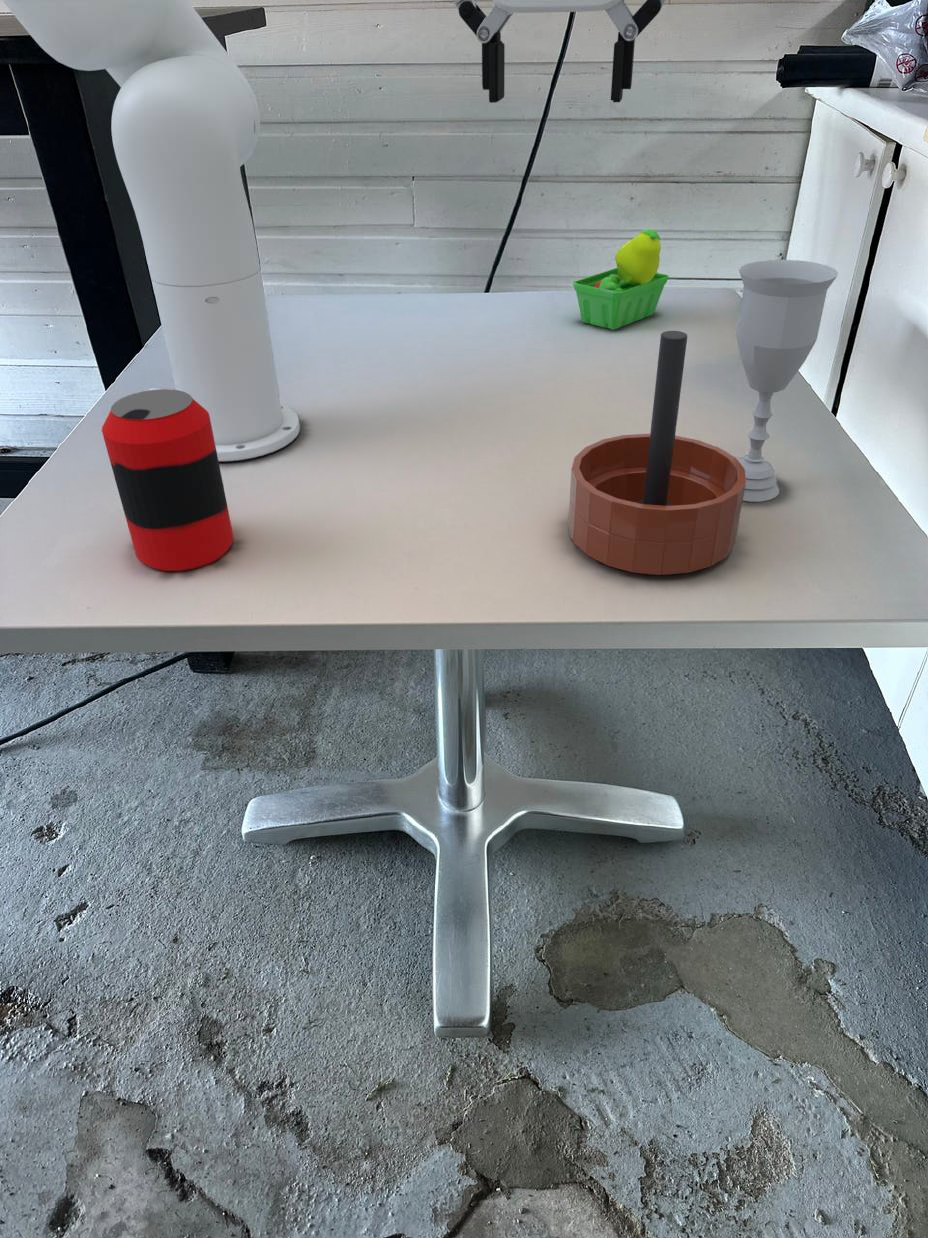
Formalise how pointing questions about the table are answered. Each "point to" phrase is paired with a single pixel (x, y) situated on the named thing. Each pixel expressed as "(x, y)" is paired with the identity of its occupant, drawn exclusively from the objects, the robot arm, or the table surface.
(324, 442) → the table surface
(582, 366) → the table surface
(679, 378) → the upright rod on disc
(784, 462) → the table surface
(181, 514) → the soda can
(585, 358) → the table surface
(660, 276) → the fruit basket
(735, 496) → the bowl
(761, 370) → the chalice
